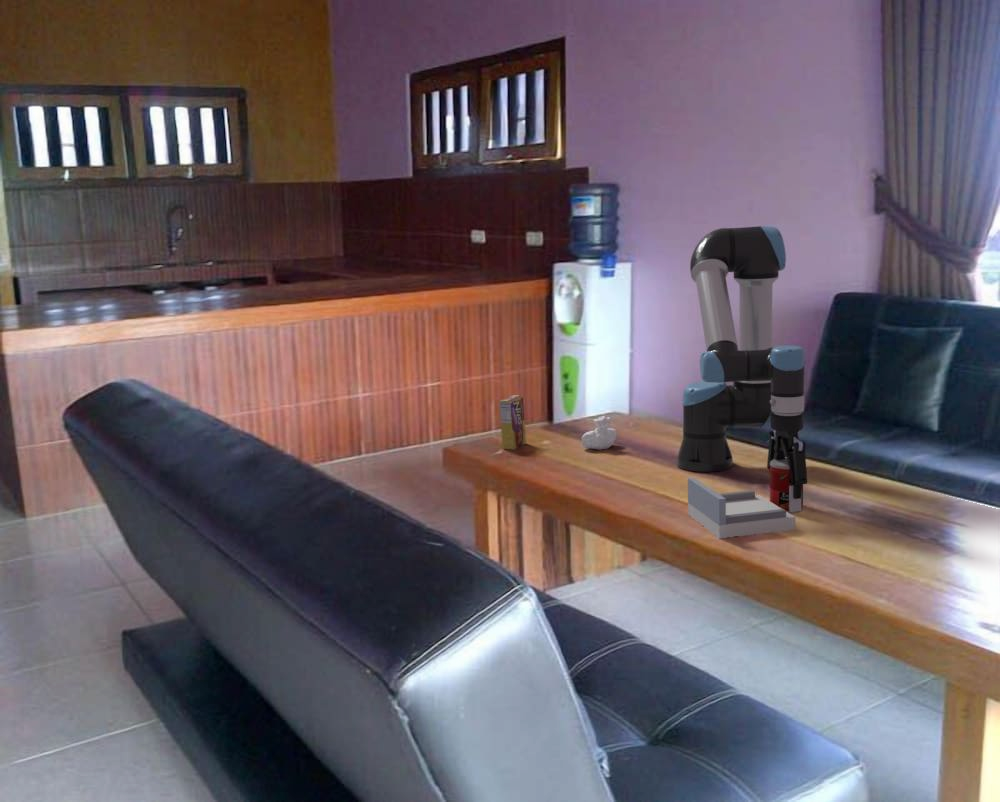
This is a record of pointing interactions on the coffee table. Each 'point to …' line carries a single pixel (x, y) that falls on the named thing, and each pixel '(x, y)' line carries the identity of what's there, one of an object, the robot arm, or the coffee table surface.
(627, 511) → the coffee table surface
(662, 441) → the coffee table surface
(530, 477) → the coffee table surface
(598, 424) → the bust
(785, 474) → the canned food
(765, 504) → the dock
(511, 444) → the candy box
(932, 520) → the coffee table surface
